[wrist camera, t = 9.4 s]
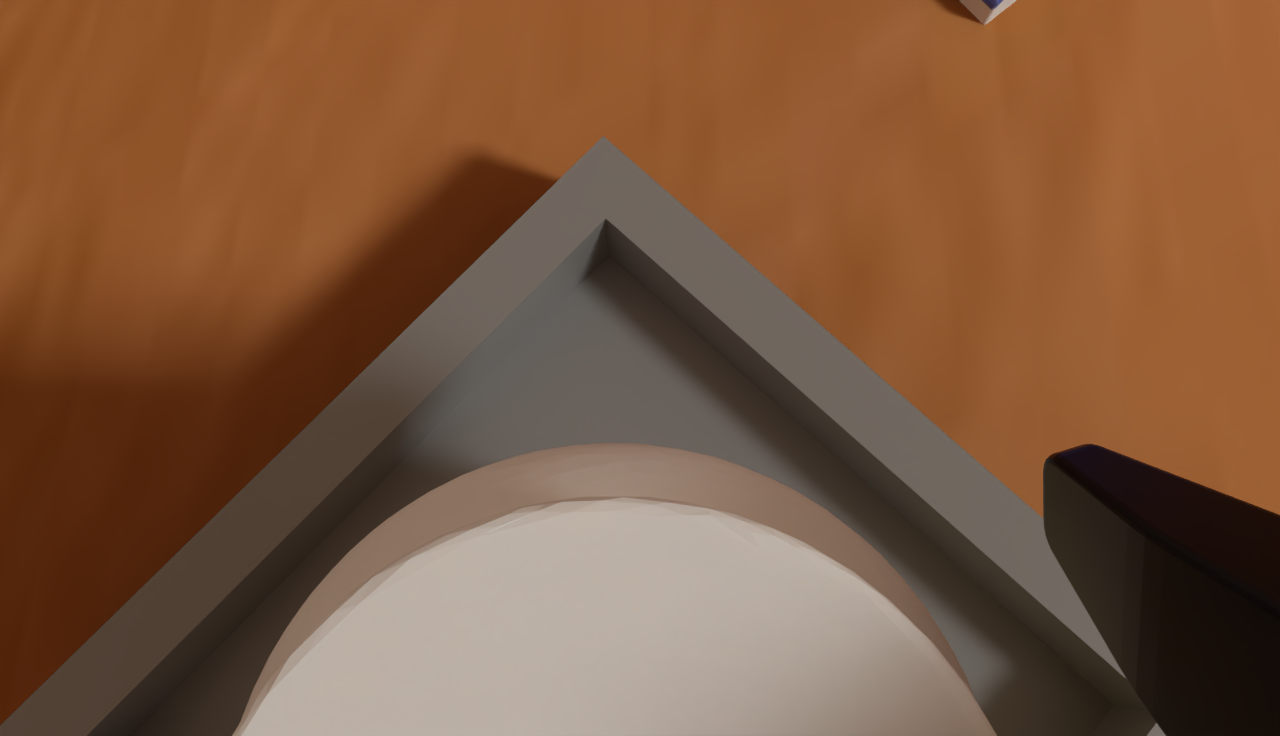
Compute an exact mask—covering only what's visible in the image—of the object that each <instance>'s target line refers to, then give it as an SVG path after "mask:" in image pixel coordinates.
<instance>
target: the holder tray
mask: <svg viewBox="0 0 1280 736" xmlns="http://www.w3.org/2000/svg"><path fill="white" fill-rule="evenodd" d="M598 443H637V444H647V445H654V446H662V447H669V448H676V449H682V450H686V451H691V452H695V453H700V454H705V455H709V456H714V457H717V458H720V459H723V460H726V461H729V462H731V463H734V464H737V465H740V466H743V467H745V468H748V469H750V470H752V471H755V472H757V473H760V474H762V475H764V476H767V477H769V478H771V479H773V480H775V481H777V482H779V483H781V484H784V485H786V486H788V487H790V488H792V489H794V490H796V491H797V492H799V493H800V494H802V495H804V496H805V497H807V498H809V499H810V500H812V501H813V502H815V503H817V504H818V505H820V506H822V507H823V508H825V509H826V510H828V511H829V512H830V513H831V514H833V515H834V516H835V517H836V518H838V519H839V520H840V521H842V522H843V523H844V524H845V525H847V526H848V527H849V528H851V529H852V530H853V531H854V532H856V533H857V534H858V535H860V536H861V537H862V538H863V539H864V540H865V541H866V542H868V543H869V544H870V545H871V546H872V547H873V548H874V549H875V550H876V551H878V552H879V553H880V554H881V555H882V556H883V557H884V559H885V560H886V561H887V562H888V563H889V564H890V565H891V566H892V567H893V568H894V569H895V570H896V571H897V572H898V574H899V575H900V576H901V577H902V578H903V579H904V580H905V581H906V583H907V584H908V585H909V586H910V588H911V589H912V590H913V592H914V593H915V594H916V595H917V597H918V598H919V599H920V601H921V602H922V603H923V604H924V606H925V607H926V608H927V610H928V611H929V613H930V615H931V616H932V618H933V619H934V621H935V622H936V624H937V625H938V627H939V629H940V630H941V632H942V633H943V635H944V636H945V638H946V640H947V641H948V643H949V645H950V647H951V649H952V650H953V652H954V654H955V656H956V658H957V660H958V662H959V664H960V666H961V668H962V670H963V672H964V673H965V675H966V677H967V680H968V682H969V685H970V687H971V690H972V692H973V695H974V697H975V700H976V701H977V703H978V705H979V706H980V708H981V710H982V711H983V713H984V715H985V716H986V718H987V720H988V721H989V723H990V725H991V726H992V728H993V730H994V731H995V733H996V735H997V736H1166V735H1165V734H1164V732H1163V731H1162V730H1161V728H1160V727H1159V726H1158V724H1157V723H1156V722H1155V720H1154V719H1153V717H1152V716H1151V715H1150V713H1149V712H1148V710H1147V709H1146V708H1145V706H1144V705H1143V703H1142V702H1141V700H1140V699H1139V698H1138V696H1137V695H1136V693H1135V692H1134V690H1133V689H1132V687H1131V685H1130V684H1129V682H1128V680H1127V679H1126V677H1125V676H1124V674H1123V672H1122V671H1121V669H1120V667H1119V666H1118V664H1117V662H1116V661H1115V659H1114V657H1113V655H1112V654H1111V652H1110V650H1109V649H1108V647H1107V645H1106V643H1105V642H1104V640H1103V638H1102V637H1101V635H1100V633H1099V631H1098V630H1097V628H1096V626H1095V625H1094V623H1093V621H1092V619H1091V618H1090V616H1089V614H1088V613H1087V611H1086V609H1085V607H1084V606H1083V604H1082V602H1081V601H1080V599H1079V597H1078V595H1077V594H1076V592H1075V590H1074V589H1073V587H1072V585H1071V583H1070V582H1069V580H1068V578H1067V577H1066V575H1065V573H1064V571H1063V570H1062V568H1061V566H1060V565H1059V563H1058V561H1057V559H1056V558H1055V556H1054V554H1053V552H1052V551H1051V549H1050V546H1049V544H1048V541H1047V538H1046V535H1045V530H1044V519H1043V518H1042V517H1041V516H1040V515H1039V514H1037V513H1036V512H1035V511H1034V510H1033V509H1032V508H1031V507H1029V506H1028V505H1027V504H1026V503H1025V502H1024V501H1022V500H1021V499H1020V498H1019V497H1018V496H1017V495H1016V494H1014V493H1013V492H1012V491H1011V490H1010V489H1009V488H1008V487H1006V486H1005V485H1004V484H1003V483H1002V482H1001V481H999V480H998V479H997V478H996V477H995V476H994V475H993V474H991V473H990V472H989V471H988V470H987V469H986V468H985V467H983V466H982V465H981V464H980V463H979V462H978V461H976V460H975V459H974V458H973V457H972V456H971V455H970V454H968V453H967V452H966V451H965V450H964V449H963V448H961V447H960V446H959V445H958V444H957V443H956V442H955V441H953V440H952V439H951V438H950V437H949V436H948V435H947V434H945V433H944V432H943V431H942V430H941V429H940V428H938V427H937V426H936V425H935V424H934V423H933V422H932V421H930V420H929V419H928V418H927V417H926V416H925V415H924V414H922V413H921V412H920V411H919V410H918V409H917V408H915V407H914V406H913V405H912V404H911V403H910V402H909V401H907V400H906V399H905V398H904V397H903V396H902V395H901V394H899V393H898V392H897V391H896V390H895V389H894V388H892V387H891V386H890V385H889V384H888V383H887V382H886V381H884V380H883V379H882V378H881V377H880V376H879V375H878V374H876V373H875V372H874V371H873V370H872V369H871V368H869V367H868V366H867V365H866V364H865V363H864V362H863V361H861V360H860V359H859V358H858V357H857V356H856V355H855V354H853V353H852V352H851V351H850V350H849V349H848V348H846V347H845V346H844V345H843V344H842V343H841V342H840V341H838V340H837V339H836V338H835V337H834V336H833V335H832V334H830V333H829V332H828V331H827V330H826V329H825V328H823V327H822V326H821V325H820V324H819V323H818V322H817V321H815V320H814V319H813V318H812V317H811V316H810V315H809V314H807V313H806V312H805V311H804V310H803V309H802V308H800V307H799V306H798V305H797V304H796V303H795V302H794V301H792V300H791V299H790V298H789V297H788V296H787V295H785V294H784V293H783V292H782V291H781V290H780V289H779V288H777V287H776V286H775V285H774V284H773V283H772V282H771V281H769V280H768V279H767V278H766V277H765V276H764V275H762V274H761V273H760V272H759V271H758V270H757V269H756V268H754V267H753V266H752V265H751V264H750V263H749V262H748V261H746V260H745V259H744V258H743V257H742V256H741V255H739V254H738V253H737V252H736V251H735V250H734V249H733V248H731V247H730V246H729V245H728V244H727V243H726V242H725V241H723V240H722V239H721V238H720V237H719V236H718V235H716V234H715V233H714V232H713V231H712V230H711V229H710V228H708V227H707V226H706V225H705V224H704V223H703V222H702V221H700V220H699V219H698V218H697V217H696V216H695V215H693V214H692V213H691V212H690V211H689V210H688V209H687V208H685V207H684V206H683V205H682V204H681V203H680V202H679V201H677V200H676V199H675V198H674V197H673V196H672V195H670V194H669V193H668V192H667V191H666V190H665V189H664V188H662V187H661V186H660V185H659V184H658V183H657V182H656V181H654V180H653V179H652V178H651V177H650V176H649V175H647V174H646V173H645V172H644V171H643V170H642V169H641V168H639V167H638V166H637V165H636V164H635V163H634V162H633V161H631V160H630V159H629V158H628V157H627V156H626V155H624V154H623V153H622V152H621V151H620V150H619V149H618V148H616V147H615V146H614V145H613V144H612V143H611V142H609V141H608V140H607V139H606V138H605V137H604V136H603V137H602V138H601V139H600V140H599V141H598V142H597V143H596V144H595V145H594V146H593V147H592V148H591V149H590V150H589V151H588V152H587V153H586V154H585V155H584V156H583V157H582V158H581V159H580V160H578V161H577V162H576V163H575V164H574V165H573V166H572V167H571V168H570V169H569V170H568V171H567V172H566V173H565V174H564V175H563V176H562V177H561V178H560V179H559V180H558V181H557V182H556V183H555V184H554V185H553V186H552V187H551V188H550V189H549V190H548V191H547V192H546V193H545V194H544V195H543V196H542V197H541V198H540V199H539V200H538V201H537V202H535V203H534V204H533V205H532V206H531V207H530V208H529V209H528V210H527V211H526V212H525V213H524V214H523V215H522V216H521V217H520V218H519V219H518V220H517V221H516V222H515V223H514V224H513V225H512V226H511V227H510V228H509V229H508V230H507V231H506V232H505V233H504V234H503V235H502V236H501V237H500V238H499V239H498V240H497V241H496V242H495V243H494V244H492V245H491V246H490V247H489V248H488V249H487V250H486V251H485V252H484V253H483V254H482V255H481V256H480V257H479V258H478V259H477V260H476V261H475V262H474V263H473V264H472V265H471V266H470V267H469V268H468V269H467V270H466V271H465V272H464V273H463V274H462V275H461V276H460V277H459V278H458V279H457V280H456V281H455V282H454V283H453V284H452V285H451V286H450V287H448V288H447V289H446V290H445V291H444V292H443V293H442V294H441V295H440V296H439V297H438V298H437V299H436V300H435V301H434V302H433V303H432V304H431V305H430V306H429V307H428V308H427V309H426V310H425V311H424V312H423V313H422V314H421V315H420V316H419V317H418V318H417V319H416V320H415V321H414V322H413V323H412V324H411V325H410V326H409V327H408V328H407V329H405V330H404V331H403V332H402V333H401V334H400V335H399V336H398V337H397V338H396V339H395V340H394V341H393V342H392V343H391V344H390V345H389V346H388V347H387V348H386V349H385V350H384V351H383V352H382V353H381V354H380V355H379V356H378V357H377V358H376V359H375V360H374V361H373V362H372V363H371V364H370V365H369V366H368V367H367V368H366V369H365V370H364V371H363V372H361V373H360V374H359V375H358V376H357V377H356V378H355V379H354V380H353V381H352V382H351V383H350V384H349V385H348V386H347V387H346V388H345V389H344V390H343V391H342V392H341V393H340V394H339V395H338V396H337V397H336V398H335V399H334V400H333V401H332V402H331V403H330V404H329V405H328V406H327V407H326V408H325V409H324V410H323V411H322V412H321V413H320V414H318V415H317V416H316V417H315V418H314V419H313V420H312V421H311V422H310V423H309V424H308V425H307V426H306V427H305V428H304V429H303V430H302V431H301V432H300V433H299V434H298V435H297V436H296V437H295V438H294V439H293V440H292V441H291V442H290V443H289V444H288V445H287V446H286V447H285V448H284V449H283V450H282V451H281V452H280V453H279V454H278V455H277V456H275V457H274V458H273V459H272V460H271V461H270V462H269V463H268V464H267V465H266V466H265V467H264V468H263V469H262V470H261V471H260V472H259V473H258V474H257V475H256V476H255V477H254V478H253V479H252V480H251V481H250V482H249V483H248V484H247V485H246V486H245V487H244V488H243V489H242V490H241V491H240V492H239V493H238V494H237V495H236V496H235V497H234V498H233V499H231V500H230V501H229V502H228V503H227V504H226V505H225V506H224V507H223V508H222V509H221V510H220V511H219V512H218V513H217V514H216V515H215V516H214V517H213V518H212V519H211V520H210V521H209V522H208V523H207V524H206V525H205V526H204V527H203V528H202V529H201V530H200V531H199V532H198V533H197V534H196V535H195V536H194V537H193V538H192V539H191V540H190V541H188V542H187V543H186V544H185V545H184V546H183V547H182V548H181V549H180V550H179V551H178V552H177V553H176V554H175V555H174V556H173V557H172V558H171V559H170V560H169V561H168V562H167V563H166V564H165V565H164V566H163V567H162V568H161V569H160V570H159V571H158V572H157V573H156V574H155V575H154V576H153V577H152V578H151V579H150V580H149V581H148V582H147V583H145V584H144V585H143V586H142V587H141V588H140V589H139V590H138V591H137V592H136V593H135V594H134V595H133V596H132V597H131V598H130V599H129V600H128V601H127V602H126V603H125V604H124V605H123V606H122V607H121V608H120V609H119V610H118V611H117V612H116V613H115V614H114V615H113V616H112V617H111V618H110V619H109V620H108V621H107V622H106V623H105V624H104V625H103V626H101V627H100V628H99V629H98V630H97V631H96V632H95V633H94V634H93V635H92V636H91V637H90V638H89V639H88V640H87V641H86V642H85V643H84V644H83V645H82V646H81V647H80V648H79V649H78V650H77V651H76V652H75V653H74V654H73V655H72V656H71V657H70V658H69V659H68V660H67V661H66V662H65V663H64V664H63V665H62V666H61V667H60V668H58V669H57V670H56V671H55V672H54V673H53V674H52V675H51V676H50V677H49V678H48V679H47V680H46V681H45V682H44V683H43V684H42V685H41V686H40V687H39V688H38V689H37V690H36V691H35V692H34V693H33V694H32V695H31V696H30V697H29V698H28V699H27V700H26V701H25V702H24V703H23V704H22V705H21V706H20V707H19V708H18V709H17V710H15V711H14V712H13V713H12V714H11V715H10V716H9V717H8V718H7V719H6V720H5V721H4V722H3V723H2V724H1V725H0V736H232V735H233V733H234V732H235V730H236V728H237V727H238V725H239V723H240V722H241V719H242V716H243V714H244V711H245V709H246V706H247V704H248V701H249V699H250V696H251V693H252V691H253V689H254V687H255V685H256V683H257V681H258V678H259V676H260V674H261V672H262V670H263V668H264V666H265V664H266V662H267V660H268V658H269V656H270V654H271V653H272V651H273V649H274V648H275V646H276V644H277V643H278V641H279V639H280V638H281V636H282V634H283V633H284V631H285V629H286V628H287V627H288V625H289V624H290V622H291V621H292V619H293V618H294V616H295V615H296V614H297V612H298V611H299V609H300V608H301V607H302V605H303V604H304V603H305V601H306V600H307V598H308V597H309V596H310V594H311V593H312V592H313V591H314V590H315V588H316V587H317V586H318V585H319V584H320V583H321V582H322V580H323V579H324V578H325V577H326V576H327V575H328V574H329V572H330V571H331V570H332V569H333V568H334V567H335V566H336V565H337V564H338V563H339V562H340V561H341V560H342V558H343V557H344V556H345V555H346V554H347V553H348V552H349V551H350V550H351V549H353V548H354V547H355V546H356V545H357V544H358V543H359V542H360V541H361V540H363V539H364V538H365V537H366V536H367V535H368V534H369V533H370V532H372V531H373V530H374V529H375V528H377V527H378V526H379V525H380V524H382V523H383V522H384V521H385V520H387V519H388V518H390V517H391V516H392V515H394V514H395V513H397V512H398V511H400V510H401V509H403V508H404V507H406V506H407V505H409V504H410V503H412V502H413V501H415V500H417V499H418V498H420V497H421V496H423V495H425V494H426V493H428V492H430V491H431V490H433V489H435V488H437V487H439V486H441V485H443V484H445V483H447V482H449V481H451V480H453V479H455V478H457V477H459V476H461V475H464V474H466V473H469V472H471V471H474V470H476V469H479V468H481V467H484V466H487V465H490V464H493V463H496V462H499V461H502V460H505V459H508V458H511V457H515V456H518V455H523V454H527V453H531V452H535V451H540V450H546V449H552V448H559V447H565V446H572V445H582V444H598Z"/></svg>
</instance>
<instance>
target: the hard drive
mask: <svg viewBox="0 0 1280 736" xmlns="http://www.w3.org/2000/svg"><path fill="white" fill-rule="evenodd" d="M959 1H960V2H961V3H962V4H963V5H964V6H965V7H966V8H967V9H968V10H969V11H970V12H971V13H972V14H973V15H974V16H975V17H976V18H977V19H978V20H979V21H980V22H981V23H982V24H983V25H985V24H987V23H988V22H990V21H991V20H992V19H994V18H995V17H996V16H997V15H999V14H1000V13H1001V12H1002V11H1004V10H1005V9H1006V8H1007V7H1009V6H1010V5H1011V4H1012V3H1014V2H1015V1H1016V0H959Z"/></svg>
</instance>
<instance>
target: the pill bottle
mask: <svg viewBox="0 0 1280 736" xmlns="http://www.w3.org/2000/svg"><path fill="white" fill-rule="evenodd" d="M232 736H997V735H996V733H995V731H994V730H993V728H992V726H991V725H990V723H989V721H988V720H987V718H986V716H985V715H984V713H983V711H982V710H981V708H980V706H979V705H978V703H977V701H976V700H975V697H974V695H973V692H972V690H971V687H970V685H969V682H968V680H967V677H966V675H965V673H964V672H963V670H962V668H961V666H960V664H959V662H958V660H957V658H956V656H955V654H954V652H953V650H952V649H951V647H950V645H949V643H948V641H947V640H946V638H945V636H944V635H943V633H942V632H941V630H940V629H939V627H938V625H937V624H936V622H935V621H934V619H933V618H932V616H931V615H930V613H929V611H928V610H927V608H926V607H925V606H924V604H923V603H922V602H921V601H920V599H919V598H918V597H917V595H916V594H915V593H914V592H913V590H912V589H911V588H910V586H909V585H908V584H907V583H906V581H905V580H904V579H903V578H902V577H901V576H900V575H899V574H898V572H897V571H896V570H895V569H894V568H893V567H892V566H891V565H890V564H889V563H888V562H887V561H886V560H885V559H884V557H883V556H882V555H881V554H880V553H879V552H878V551H876V550H875V549H874V548H873V547H872V546H871V545H870V544H869V543H868V542H866V541H865V540H864V539H863V538H862V537H861V536H860V535H858V534H857V533H856V532H854V531H853V530H852V529H851V528H849V527H848V526H847V525H845V524H844V523H843V522H842V521H840V520H839V519H838V518H836V517H835V516H834V515H833V514H831V513H830V512H829V511H828V510H826V509H825V508H823V507H822V506H820V505H818V504H817V503H815V502H813V501H812V500H810V499H809V498H807V497H805V496H804V495H802V494H800V493H799V492H797V491H796V490H794V489H792V488H790V487H788V486H786V485H784V484H781V483H779V482H777V481H775V480H773V479H771V478H769V477H767V476H764V475H762V474H760V473H757V472H755V471H752V470H750V469H748V468H745V467H743V466H740V465H737V464H734V463H731V462H729V461H726V460H723V459H720V458H717V457H714V456H709V455H705V454H700V453H695V452H691V451H686V450H682V449H676V448H669V447H662V446H654V445H647V444H637V443H598V444H582V445H572V446H565V447H559V448H552V449H546V450H540V451H535V452H531V453H527V454H523V455H518V456H515V457H511V458H508V459H505V460H502V461H499V462H496V463H493V464H490V465H487V466H484V467H481V468H479V469H476V470H474V471H471V472H469V473H466V474H464V475H461V476H459V477H457V478H455V479H453V480H451V481H449V482H447V483H445V484H443V485H441V486H439V487H437V488H435V489H433V490H431V491H430V492H428V493H426V494H425V495H423V496H421V497H420V498H418V499H417V500H415V501H413V502H412V503H410V504H409V505H407V506H406V507H404V508H403V509H401V510H400V511H398V512H397V513H395V514H394V515H392V516H391V517H390V518H388V519H387V520H385V521H384V522H383V523H382V524H380V525H379V526H378V527H377V528H375V529H374V530H373V531H372V532H370V533H369V534H368V535H367V536H366V537H365V538H364V539H363V540H361V541H360V542H359V543H358V544H357V545H356V546H355V547H354V548H353V549H351V550H350V551H349V552H348V553H347V554H346V555H345V556H344V557H343V558H342V560H341V561H340V562H339V563H338V564H337V565H336V566H335V567H334V568H333V569H332V570H331V571H330V572H329V574H328V575H327V576H326V577H325V578H324V579H323V580H322V582H321V583H320V584H319V585H318V586H317V587H316V588H315V590H314V591H313V592H312V593H311V594H310V596H309V597H308V598H307V600H306V601H305V603H304V604H303V605H302V607H301V608H300V609H299V611H298V612H297V614H296V615H295V616H294V618H293V619H292V621H291V622H290V624H289V625H288V627H287V628H286V629H285V631H284V633H283V634H282V636H281V638H280V639H279V641H278V643H277V644H276V646H275V648H274V649H273V651H272V653H271V654H270V656H269V658H268V660H267V662H266V664H265V666H264V668H263V670H262V672H261V674H260V676H259V678H258V681H257V683H256V685H255V687H254V689H253V691H252V693H251V696H250V699H249V701H248V704H247V706H246V709H245V711H244V714H243V716H242V719H241V722H240V723H239V725H238V727H237V728H236V730H235V732H234V733H233V735H232Z"/></svg>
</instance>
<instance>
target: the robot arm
mask: <svg viewBox="0 0 1280 736" xmlns="http://www.w3.org/2000/svg"><path fill="white" fill-rule="evenodd" d="M1043 507H1044V530H1045V535H1046V538H1047V541H1048V544H1049V546H1050V549H1051V551H1052V552H1053V554H1054V556H1055V558H1056V559H1057V561H1058V563H1059V565H1060V566H1061V568H1062V570H1063V571H1064V573H1065V575H1066V577H1067V578H1068V580H1069V582H1070V583H1071V585H1072V587H1073V589H1074V590H1075V592H1076V594H1077V595H1078V597H1079V599H1080V601H1081V602H1082V604H1083V606H1084V607H1085V609H1086V611H1087V613H1088V614H1089V616H1090V618H1091V619H1092V621H1093V623H1094V625H1095V626H1096V628H1097V630H1098V631H1099V633H1100V635H1101V637H1102V638H1103V640H1104V642H1105V643H1106V645H1107V647H1108V649H1109V650H1110V652H1111V654H1112V655H1113V657H1114V659H1115V661H1116V662H1117V664H1118V666H1119V667H1120V669H1121V671H1122V672H1123V674H1124V676H1125V677H1126V679H1127V680H1128V682H1129V684H1130V685H1131V687H1132V689H1133V690H1134V692H1135V693H1136V695H1137V696H1138V698H1139V699H1140V700H1141V702H1142V703H1143V705H1144V706H1145V708H1146V709H1147V710H1148V712H1149V713H1150V715H1151V716H1152V717H1153V719H1154V720H1155V722H1156V723H1157V724H1158V726H1159V727H1160V728H1161V730H1162V731H1163V732H1164V734H1165V735H1166V736H1280V515H1278V514H1276V513H1273V512H1271V511H1268V510H1265V509H1263V508H1260V507H1258V506H1255V505H1252V504H1250V503H1247V502H1245V501H1242V500H1239V499H1237V498H1234V497H1231V496H1229V495H1226V494H1224V493H1221V492H1218V491H1216V490H1213V489H1211V488H1208V487H1205V486H1203V485H1200V484H1198V483H1195V482H1192V481H1190V480H1187V479H1185V478H1182V477H1179V476H1177V475H1174V474H1171V473H1169V472H1166V471H1164V470H1161V469H1158V468H1156V467H1153V466H1151V465H1148V464H1145V463H1143V462H1140V461H1138V460H1135V459H1132V458H1130V457H1127V456H1125V455H1122V454H1119V453H1117V452H1114V451H1111V450H1109V449H1106V448H1104V447H1101V446H1098V445H1094V444H1084V445H1080V446H1077V447H1074V448H1070V449H1067V450H1064V451H1060V452H1057V453H1054V454H1052V455H1050V456H1049V457H1048V458H1047V459H1046V461H1045V464H1044V470H1043Z"/></svg>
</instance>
